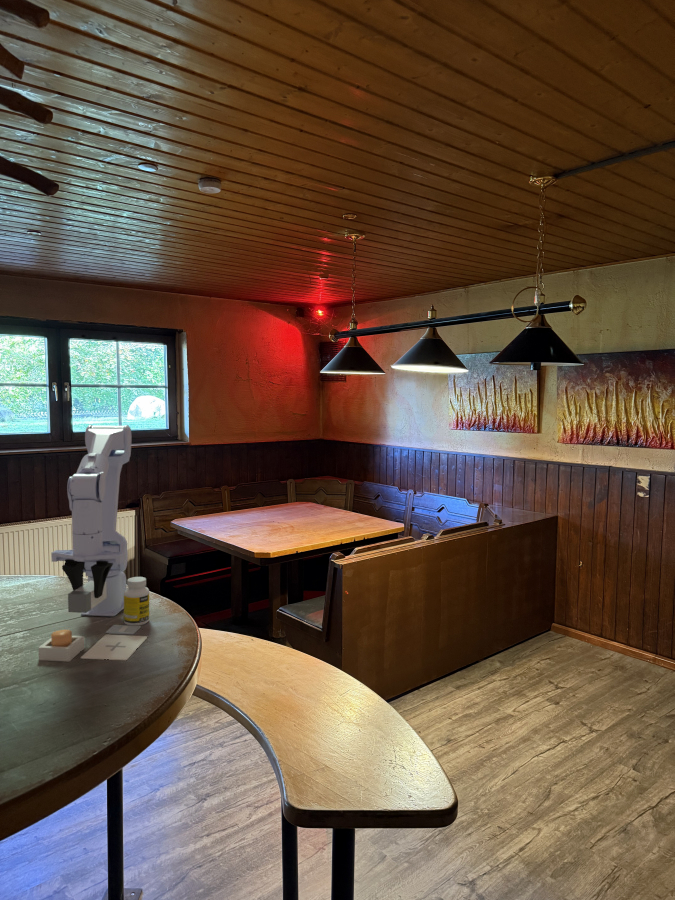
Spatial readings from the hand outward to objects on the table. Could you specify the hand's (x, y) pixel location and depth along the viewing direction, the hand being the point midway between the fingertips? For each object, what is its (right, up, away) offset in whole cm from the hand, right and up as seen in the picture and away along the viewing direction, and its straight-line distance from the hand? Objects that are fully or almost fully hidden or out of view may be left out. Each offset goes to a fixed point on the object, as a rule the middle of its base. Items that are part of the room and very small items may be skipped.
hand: (88, 596), depth 125 cm
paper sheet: (+7, -10, -3) cm, 12 cm away
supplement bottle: (+7, -8, +10) cm, 15 cm away
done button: (-2, -8, -7) cm, 11 cm away
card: (+5, -9, +5) cm, 11 cm away
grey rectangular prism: (0, -2, 0) cm, 2 cm away
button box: (-2, -10, -7) cm, 12 cm away
